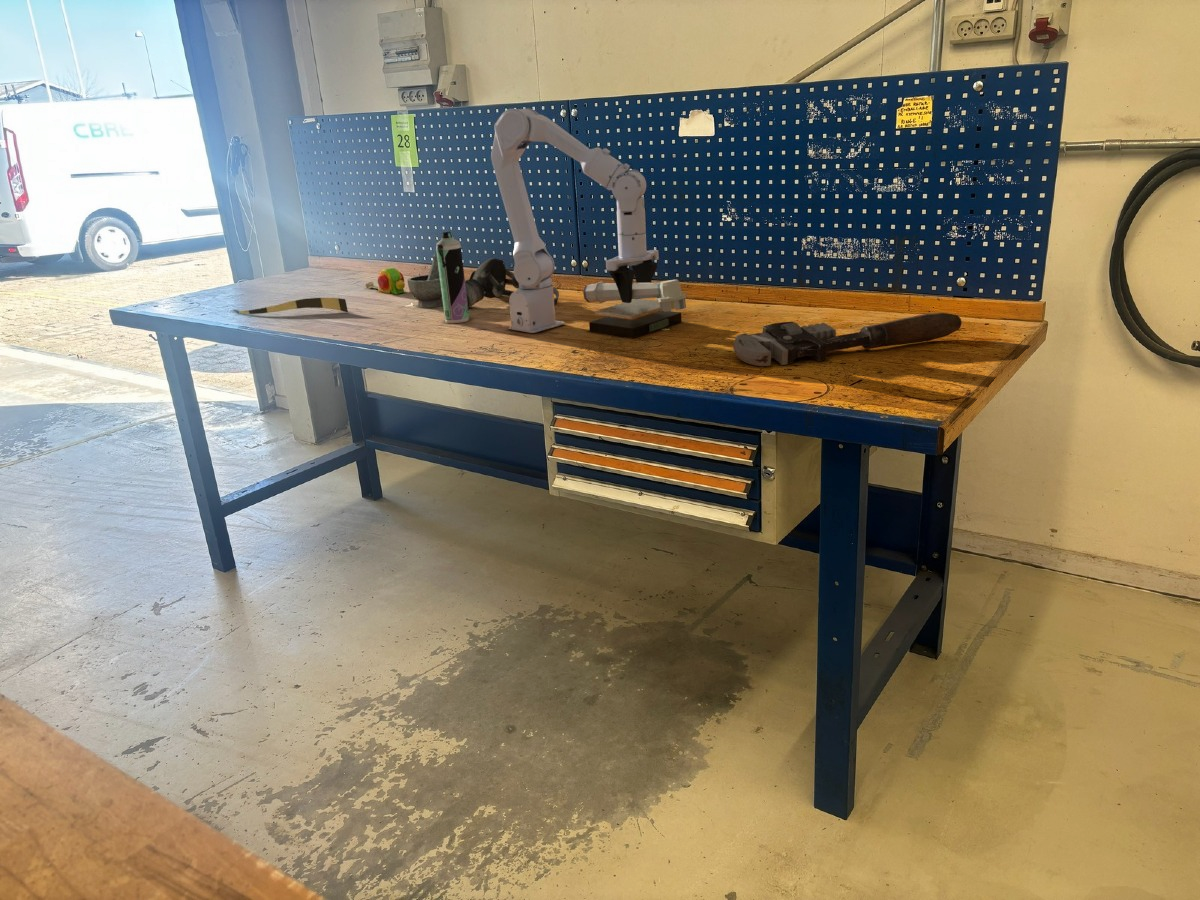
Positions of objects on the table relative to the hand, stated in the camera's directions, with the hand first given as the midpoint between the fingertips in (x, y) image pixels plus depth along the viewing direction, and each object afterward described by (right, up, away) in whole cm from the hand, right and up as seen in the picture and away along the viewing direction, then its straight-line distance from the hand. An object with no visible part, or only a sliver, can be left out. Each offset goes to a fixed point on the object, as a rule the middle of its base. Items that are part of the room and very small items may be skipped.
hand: (634, 300), depth 177 cm
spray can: (-40, -2, +18) cm, 44 cm away
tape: (-88, +4, +41) cm, 97 cm away
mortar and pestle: (-50, +5, +38) cm, 63 cm away
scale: (0, -5, +2) cm, 6 cm away
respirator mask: (-29, +5, +34) cm, 45 cm away
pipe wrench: (+37, -13, -23) cm, 45 cm away
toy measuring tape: (-67, +13, +60) cm, 91 cm away
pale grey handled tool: (0, -2, +1) cm, 2 cm away
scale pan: (0, -3, +1) cm, 3 cm away
